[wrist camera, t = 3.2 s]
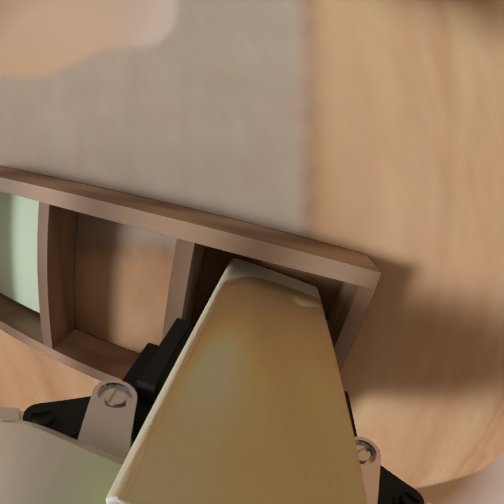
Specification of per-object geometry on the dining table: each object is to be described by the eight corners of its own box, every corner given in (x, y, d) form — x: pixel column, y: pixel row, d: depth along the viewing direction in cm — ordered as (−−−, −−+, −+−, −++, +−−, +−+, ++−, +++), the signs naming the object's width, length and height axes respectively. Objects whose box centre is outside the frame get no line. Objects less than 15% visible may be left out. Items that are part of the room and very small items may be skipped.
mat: (66, 199, 14) (61, 200, 14) (63, 319, 17) (59, 322, 16) (0, 182, 15) (-5, 183, 14) (1, 289, 17) (-2, 291, 16)
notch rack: (365, 254, 14) (381, 272, 11) (303, 406, 17) (304, 438, 14) (-7, 165, 14) (-34, 169, 12) (-4, 298, 17) (-27, 311, 15)
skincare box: (274, 383, 16) (255, 605, 5) (197, 358, 16) (110, 570, 5) (323, 280, 14) (390, 555, 3) (232, 248, 14) (96, 504, 3)
